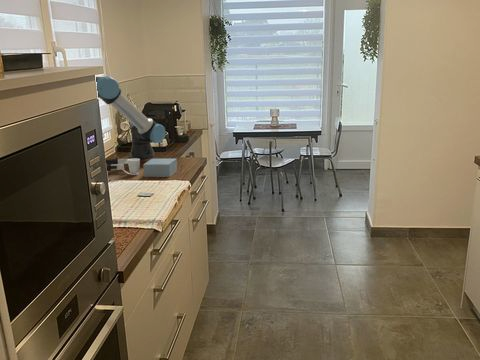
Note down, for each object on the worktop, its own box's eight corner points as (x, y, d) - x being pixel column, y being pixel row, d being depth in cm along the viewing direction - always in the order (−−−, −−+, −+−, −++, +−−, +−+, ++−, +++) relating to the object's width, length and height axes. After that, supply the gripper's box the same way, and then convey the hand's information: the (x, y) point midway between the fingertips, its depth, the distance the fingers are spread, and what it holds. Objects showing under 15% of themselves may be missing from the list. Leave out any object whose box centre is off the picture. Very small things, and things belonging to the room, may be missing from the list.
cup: (139, 175, 243) (138, 160, 241) (121, 176, 243) (119, 161, 241) (142, 172, 250) (141, 158, 248) (124, 172, 250) (123, 158, 248)
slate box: (153, 170, 255) (152, 158, 253) (177, 170, 253) (176, 158, 251) (144, 177, 240) (143, 164, 238) (170, 177, 238) (169, 164, 237)
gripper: (95, 166, 258) (132, 165, 258) (80, 177, 234) (121, 176, 234) (93, 153, 256) (131, 152, 256) (78, 163, 232) (120, 161, 232)
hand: (126, 163), depth 245 cm, fingers open, 13 cm apart
